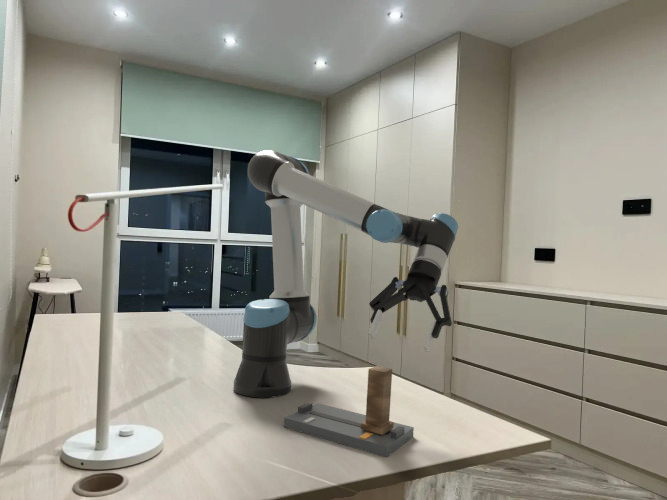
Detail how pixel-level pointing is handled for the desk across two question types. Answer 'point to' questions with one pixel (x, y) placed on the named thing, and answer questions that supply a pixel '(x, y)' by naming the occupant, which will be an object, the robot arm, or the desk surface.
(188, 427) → the desk surface
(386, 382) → the fader
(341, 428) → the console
